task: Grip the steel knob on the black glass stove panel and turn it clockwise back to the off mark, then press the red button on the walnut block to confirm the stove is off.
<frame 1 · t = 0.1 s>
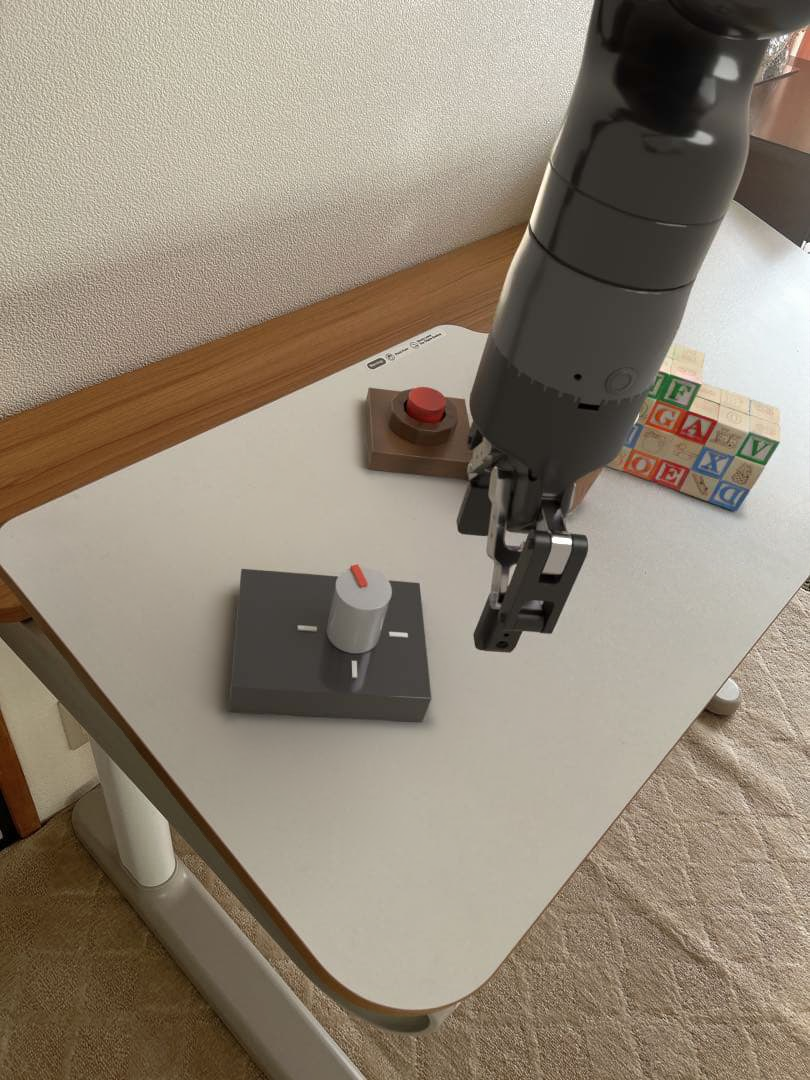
hand: (482, 585, 50), 18 cm above the table, tool pointing down, fingers open, 8 cm apart
coffee cup: (541, 495, 86), on the table
stove panel: (327, 655, 67), on the table
off button: (426, 405, 85), point 4 cm above the table, slide at 0.1 cm
stove knob: (358, 609, 64), point 6 cm above the table, hinge at 110.0°
stack of blocks: (638, 461, 93), on the table
button block: (416, 441, 88), on the table
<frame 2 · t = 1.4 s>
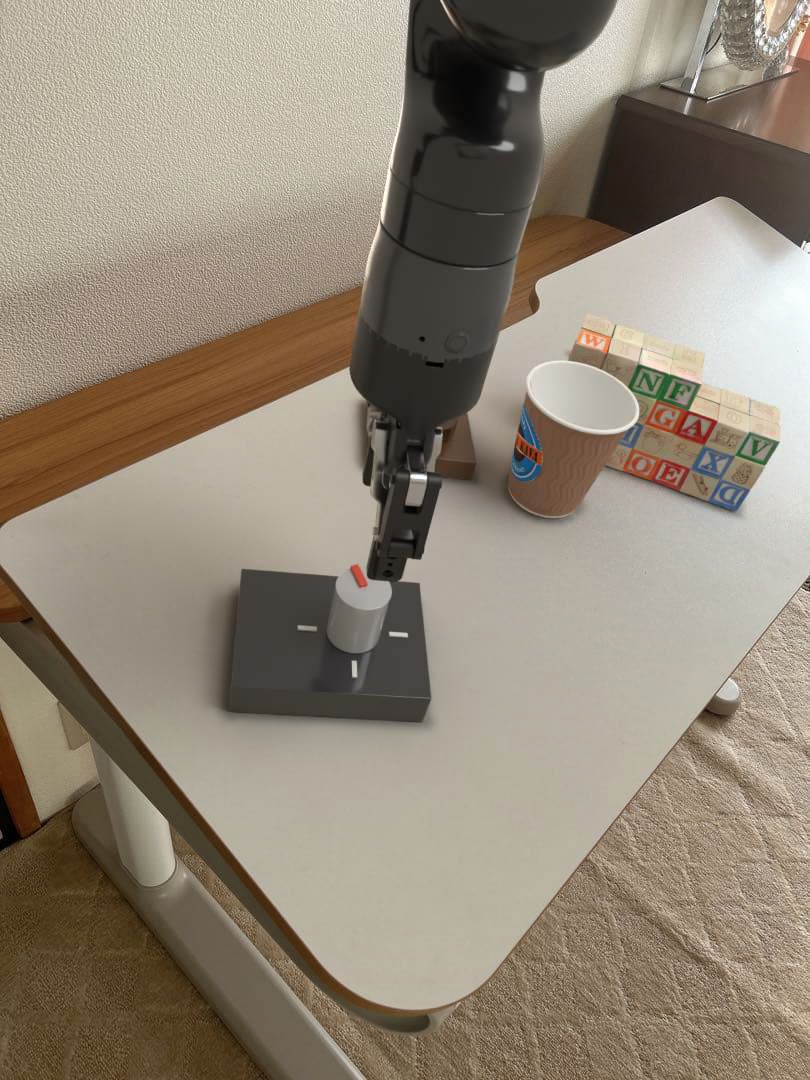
hand: (380, 528, 58), 14 cm above the table, tool pointing down, fingers open, 8 cm apart
nothing on the table moved.
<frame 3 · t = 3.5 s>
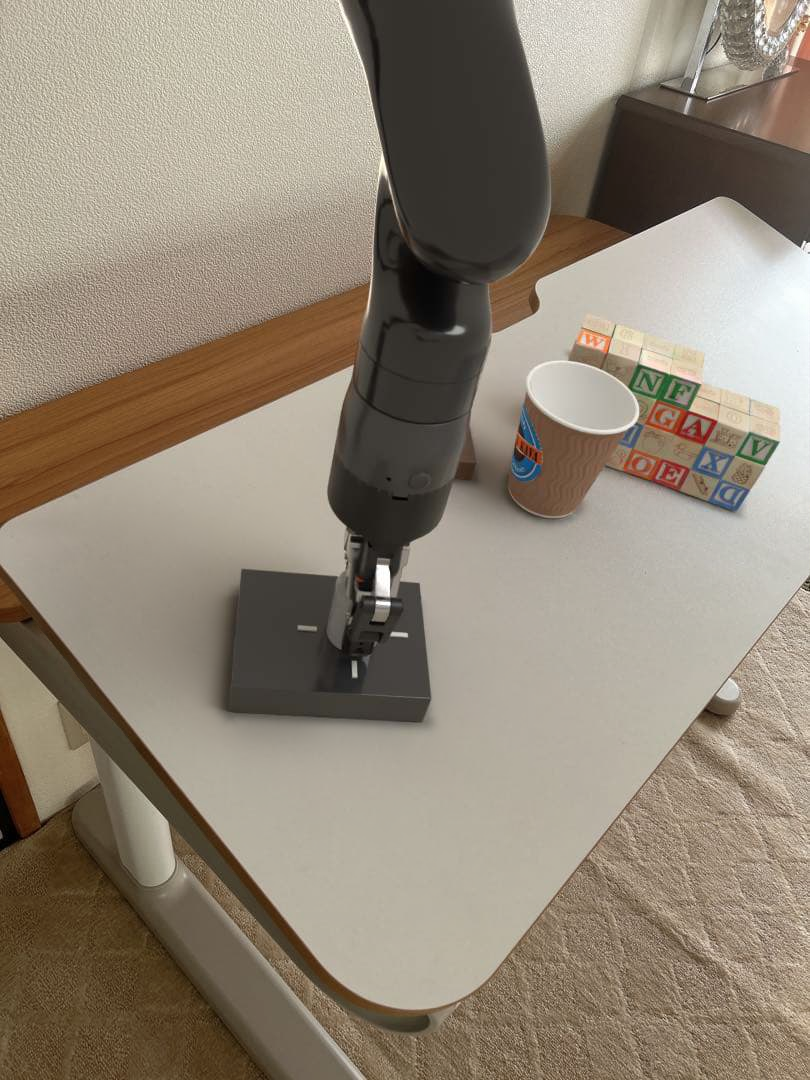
hand: (354, 625, 65), 4 cm above the table, tool pointing down, fingers closed on stove knob, 4 cm apart
stove knob: (358, 609, 64), point 6 cm above the table, hinge at 110.2°, touching gripper
everything else where it was.
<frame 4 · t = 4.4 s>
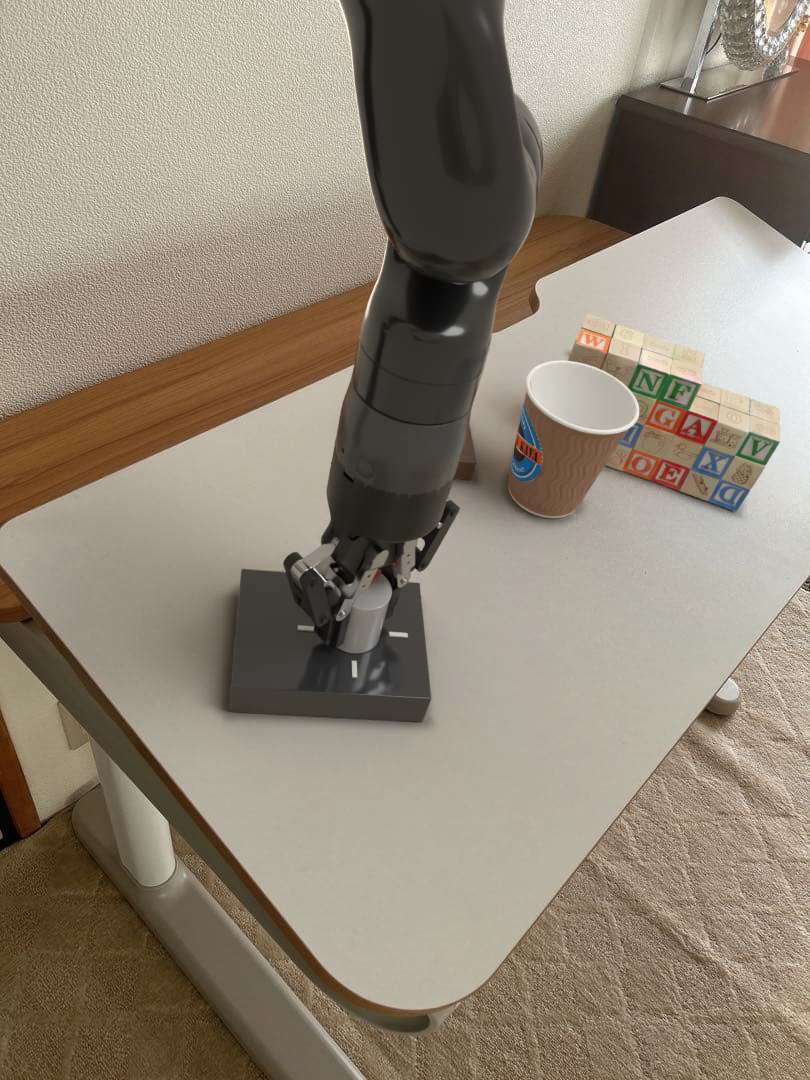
hand: (353, 624, 65), 4 cm above the table, tool pointing down, fingers closed on stove knob, 4 cm apart
stove knob: (358, 609, 64), point 6 cm above the table, hinge at 56.8°, touching gripper
everything else where it was.
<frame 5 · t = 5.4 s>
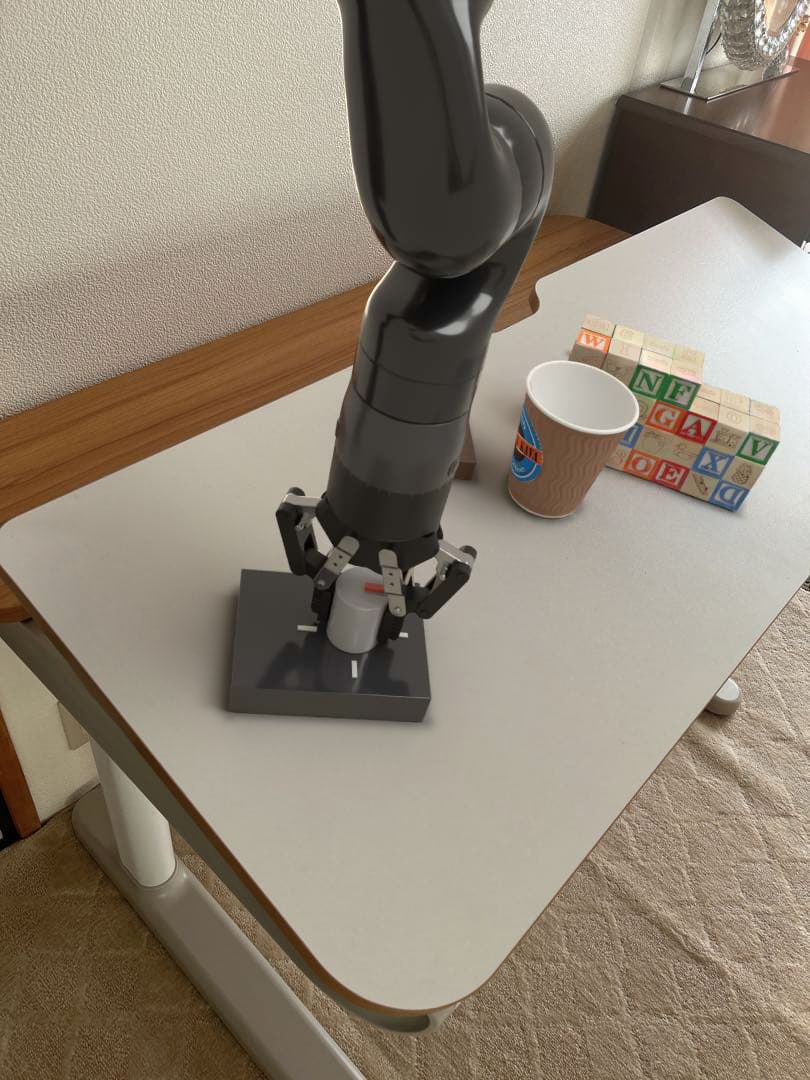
hand: (355, 623, 65), 4 cm above the table, tool pointing down, fingers closed on stove knob, 4 cm apart
stove knob: (358, 609, 64), point 6 cm above the table, hinge at -4.7°, touching gripper
everything else where it was.
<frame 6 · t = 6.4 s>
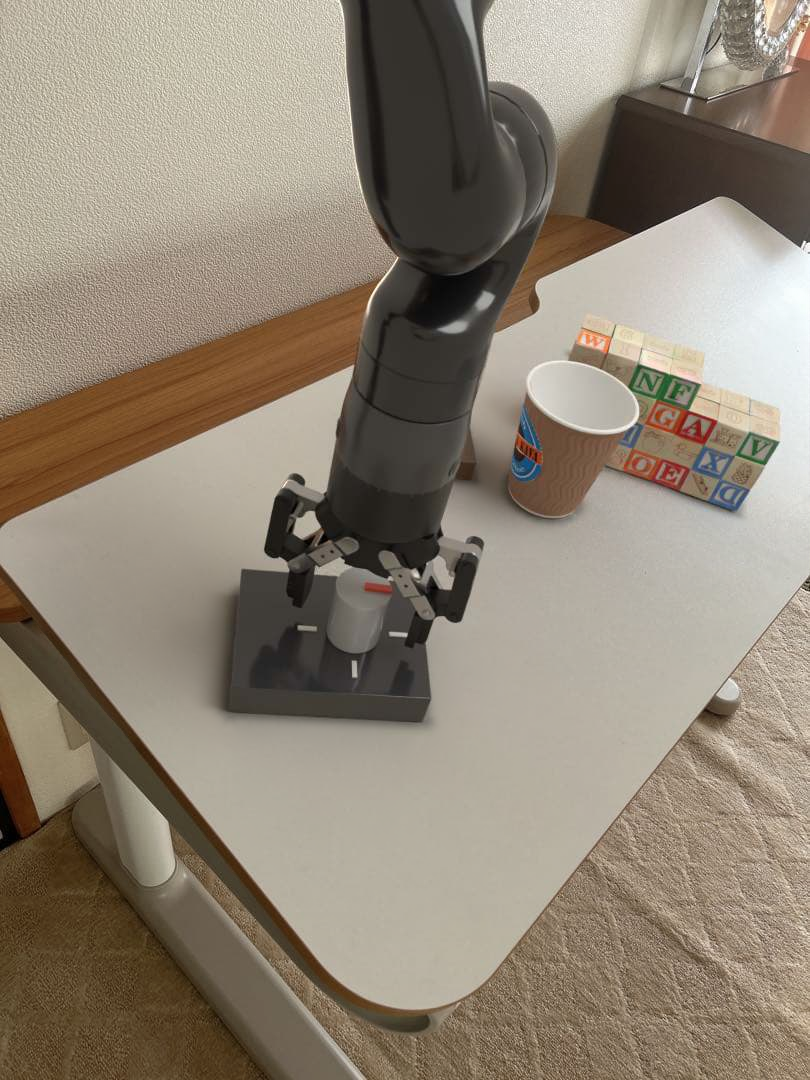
hand: (356, 618, 64), 5 cm above the table, tool pointing down, fingers open, 8 cm apart
stove knob: (358, 609, 64), point 6 cm above the table, hinge at -3.7°
everything else where it was.
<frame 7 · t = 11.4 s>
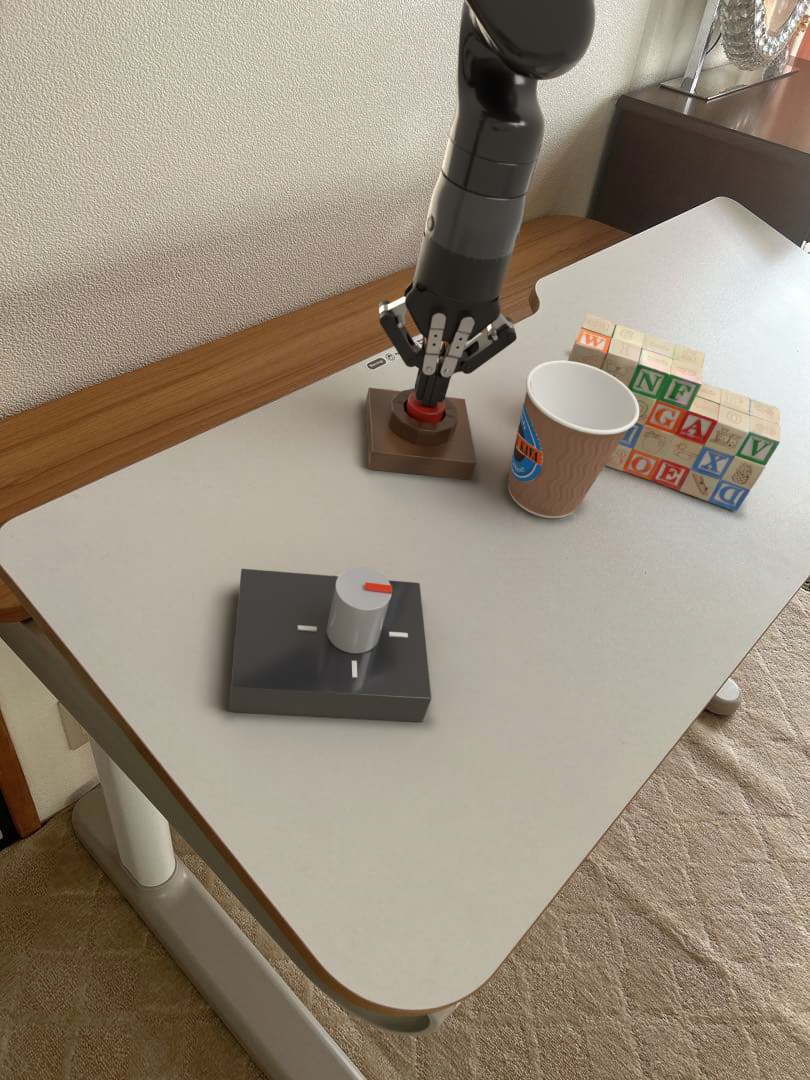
hand: (427, 401, 84), 5 cm above the table, tool pointing down, fingers closed
off button: (424, 409, 85), point 4 cm above the table, slide at -0.4 cm, touching gripper
everything else where it was.
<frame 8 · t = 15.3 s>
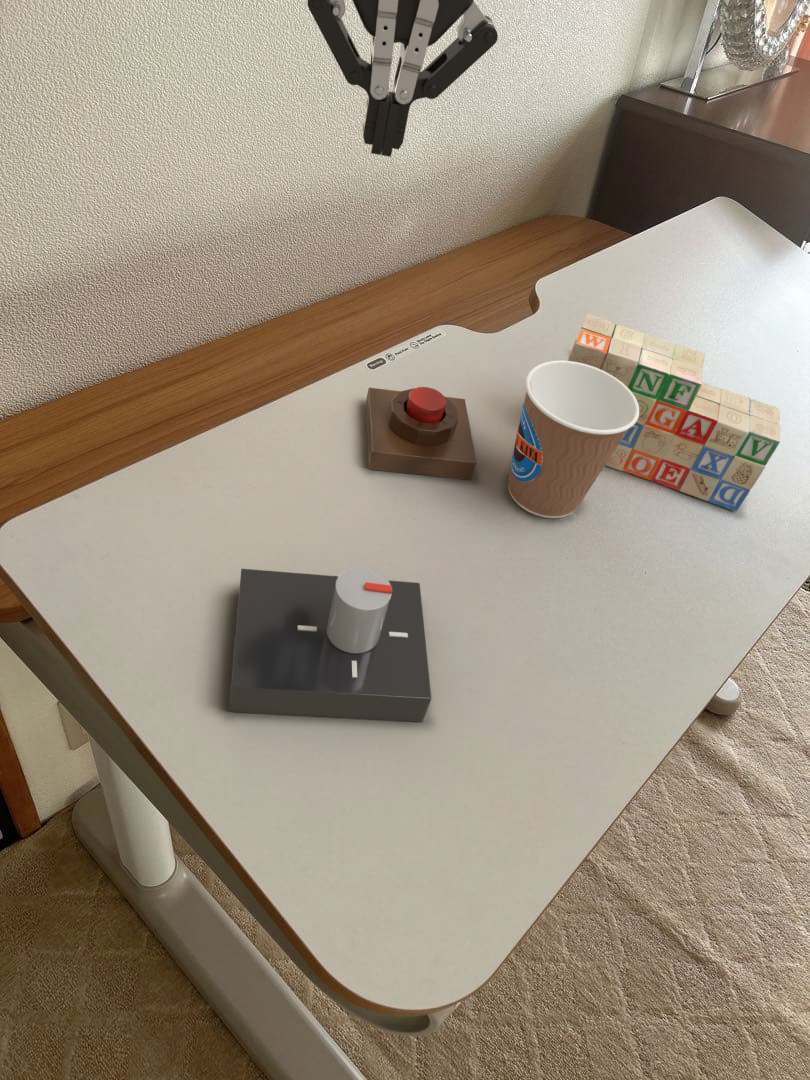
hand: (379, 150, 63), 29 cm above the table, tool pointing down, fingers closed
off button: (426, 405, 85), point 4 cm above the table, slide at 0.1 cm
everything else where it was.
at the end: stove knob at -4° (first picture: +110°); off button pushed in 1.1 cm at the most during the clip, back to where it started at the end; off button slide at 0.1 cm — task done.
